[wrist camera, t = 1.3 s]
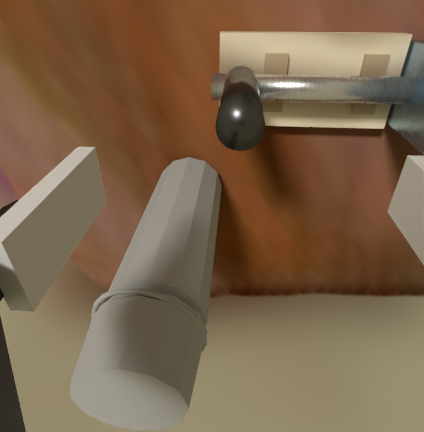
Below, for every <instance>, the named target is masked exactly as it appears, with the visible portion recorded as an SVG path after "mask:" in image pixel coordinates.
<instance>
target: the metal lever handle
mask: <svg viewBox="0 0 424 432" xmlns="http://www.w3.org/2000/svg"><path fill="white" fill-rule="evenodd" d="M211 92H212V100H221V101H220V106H219V111H218V116H217V120H216V133H217V136H218V138H219V140H220V141H221V142H222V144H224V145H225V146H226V147H228V148H230V149H233V150H238V151H242V150H247V149H250V148H252V147H254V146H255V145H256V144H257V143H259V141H260V140H261V139H262V137H263V135H264V132H265V120H264V114H263V108H262V103H261V101H271V102H319V103H366V104H391V107H390V111H389V114H388V117H387V120H386V123H387V124H388V125H390V126H391V127H392V128H393V129H394V130H395V131H396V132H398V133H399V134H400V135H401V136H402V137H403V138H404V139H406V140H407V141H408V142H409V143H410V144H411V145H412V146H414V147H415V148H416V149H417V150H418V151H419V152H421V153H422V154H424V40H411V42H410V45H409V48H408V51H407V55H406V58H405V61H404V65H403V68H402V71H401V74H400V76H349V75H286V74H255V73H254V71H253V70H252V69H250V68H249V67H246V66H237V67H235V68H233V69H231V70H230V71H229V72H228V74H223V73H213V74H212V87H211Z"/></svg>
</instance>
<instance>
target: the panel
mask: <svg viewBox="0 0 424 432" xmlns="http://www.w3.org/2000/svg"><path fill="white" fill-rule="evenodd" d="M412 35H413V34H408V33H368V32H235V31H221V32H220V73H223V74H228V72H229V71H230V70H231V69H233V68H235V67H237V66H246V67H249V68H250V69H252V70H253V71H254V73H255V74H286V75H349V76H400V74H401V71H402V68H403V65H404V61H405V58H406V55H407V51H408V48H409V45H410V42H411V38H412ZM220 101H221V100H219V106H220ZM261 103H262V108H263V114H264V120H265V126H293V127H332V128H370V129H384V127H385V124H386V120H387V117H388V114H389V111H390V107H391V104H366V103H319V102H271V101H261Z"/></svg>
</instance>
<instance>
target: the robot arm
mask: <svg viewBox="0 0 424 432" xmlns="http://www.w3.org/2000/svg"><path fill="white" fill-rule="evenodd" d="M106 202H107V200H106V195H105V190H104V186H103V181H102V177H101V172H100V167H99V163H98V158H97V154H96V149H95V147H77V148H76V149H75V150H74V151H73V152H72V153H71V154H70V155H69V156H67V157H66V158H65V159H64V160H63V161H62V162H61V163H60V164H59V165H57V166H56V167H55V168H54V169H53V170H52V171H51V172H50V173H49V174H48V175H46V176H45V177H44V178H43V179H42V180H41V181H40V182H39V183H38V184H37V185H35V186H34V187H33V188H32V189H31V190H30V191H29V192H28V193H27V194H25V195H24V196H23V197H22V198H21V199H20V200H16V201H14V202H12V203H10V204H8V205H6V206H4V207H3V208H1V209H0V301H1V299H2V298H3V297H4V299H5V301H6V303H7V304H8V306H9V308H10V310H20V311H34V310H35V309H36V307H37V306H38V304H39V303H40V301H41V300H42V298H43V297H44V295H45V294H46V292H47V291H48V289H49V288H50V286H51V285H52V283H53V282H54V280H55V279H56V277H57V276H58V274H59V273H60V271H61V270H62V268H63V266H64V265H65V264H66V262H67V261H68V259H69V258H70V256H71V255H72V253H73V252H74V250H75V249H76V247H77V246H78V244H79V243H80V241H81V240H82V238H83V237H84V235H85V234H86V232H87V231H88V229H89V227H90V226H91V224H92V223H93V221H94V220H95V218H96V217H97V215H98V214H99V212H100V211H101V209H102V208H103V206H104V205H105V203H106ZM388 213H389V215H390V216H391V218H392V219H393V221H394V222H395V224H396V225H397V227H398V228H399V230H400V231H401V232H402V234H403V235H404V237H405V238H406V240H407V241H408V243H409V244H410V246H411V247H412V249H413V250H414V252H415V253H416V255H417V256H418V257H419V259H420V260H421V262H422V263H423V265H424V156H412V155H408V156H407V158H406V161H405V164H404V167H403V170H402V172H401V175H400V178H399V181H398V184H397V186H396V189H395V192H394V195H393V198H392V200H391V203H390V206H389V209H388ZM0 432H26V431H25V426H24V422H23V417H22V413H21V408H20V403H19V399H18V394H17V390H16V386H15V381H14V376H13V372H12V368H11V363H10V358H9V354H8V349H7V345H6V340H5V335H4V331H3V326H2V322H1V317H0Z"/></svg>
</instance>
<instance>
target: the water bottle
mask: <svg viewBox="0 0 424 432" xmlns="http://www.w3.org/2000/svg"><path fill="white" fill-rule="evenodd" d="M221 189H222V186H221V182H220V179H219V176H218V172H216V171H215V170H214V169H213V168H212V167H211V166H210V165H209V164H208V163H207V162H205V161H202V160H198V159H194V158H190V157H188V158H184V159H180V160H175V161H173V162H172V163H171V164H170V165H169V166H168V167H167V168H166V169H165V170H164V171H163V173H162V175H161V177H160V179H159V181H158V184H157V186H156V188H155V190H154V192H153V194H152V197H151V199H150V201H149V203H148V205H147V208H146V210H145V212H144V214H143V216H142V219H141V221H140V223H139V225H138V227H137V230H136V232H135V234H134V236H133V238H132V240H131V243H130V245H129V247H128V249H127V251H126V254H125V256H124V258H123V260H122V262H121V265H120V267H119V269H118V271H117V273H116V276H115V278H114V280H113V282H112V284H111V286H110V289H109V291H108V292H107V293H104V294H102V295H101V296H100V297H99V298H98V299H97V300H96V301H95V303H94V305H93V310H92V315H91V316H92V322H91V324H90V327H89V330H88V333H87V336H86V339H85V342H84V345H83V348H82V351H81V354H80V357H79V359H78V362H77V366H76V368H75V371H74V374H73V377H72V380H71V383H70V389H71V390H70V391H71V394H70V396H71V400H72V401H73V402H74V403H75V404H76V405H77V406H78V407H79V408H80V409H81V410H82V411H83V412H84V413H85V414H87V415H89V416H91V417H93V418H95V419H98V420H100V421H102V422H104V423H106V424H108V425H111V426H117V427H122V428H127V429H132V430H137V431H140V430H141V431H142V430H163V429H166V428H169V427H171V426H173V425H176V424H178V423H180V422H182V421H183V420H184V418H185V415H186V413H187V410H188V408H189V405H190V400H191V396H192V391H193V387H194V382H195V378H196V374H197V369H198V365H199V360H200V355H201V352H202V351H203V350H204V348H205V346H206V345H207V336H206V334H207V330H206V328H205V325H206V322H207V316H208V307H209V298H210V289H211V280H212V271H213V262H214V253H215V244H216V235H217V226H218V216H219V207H220V198H221ZM103 300H105V303H104V304H103V305H102V306H100V308H99V310H98V307H99V305H100V304H101V302H102V301H103ZM97 310H98V311H97Z"/></svg>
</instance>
